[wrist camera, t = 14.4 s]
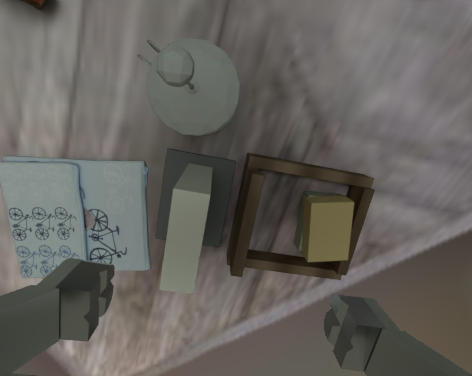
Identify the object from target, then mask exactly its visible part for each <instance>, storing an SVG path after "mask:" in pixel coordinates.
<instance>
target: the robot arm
mask: <svg viewBox="0 0 472 376" xmlns="http://www.w3.org/2000/svg"><path fill="white" fill-rule="evenodd" d="M114 269H115V267H114V265H113V264H108V263H101V262H95V261H89V260H82V259H74V258H68V259H66V260H64V261H63V262H62V263H61V264H60V265H59V266H58V267H57V268H55V269H54V270H53V271H52V272H51V273H50V274H49V275H48V276H46V277H45V278H44V279H43V280H42V281H41V282H40V283H39V284H38V285H36V286H35V285H30V286H27V287H24V288H22V289H19V290H16V291H13V292H10V293H8V294H5V295H2V296H0V376H35V375H23V374H14V373H12V372H14V371H15V370H17V369H18V368H20V367H21V366H23V365H24V364H26V363H27V362H28V361H30V360H31V359H33V358H34V357H36V356H37V355H39V354H40V353H42V352H43V351H45V350H46V349H48V348H49V347H50V346H52V345H53V344H55V343H56V342H58V341H59V339H64V340H77V341H89V339H90V337H91V336H92V334H93V332H94V331H95V329H96V328H97V326H98V322H99V317H101V316H103V315H104V314H105V313H106V311H107V309H108V307H109V305H110V302H111V299H112V295H113V287H114V286H113V285H112V283H111V282H110V281H111V279H112V278H113V276H114ZM329 304H330V306H331V308H332V309H330V310H329V311H328V312H327V313H326V315H325V319H324V331H325V335H326V337H327V339H328V341H329V342H330V343H331V344H333V345H334V349H333V352H334V355H335V357H336V359H337V361H338V363H339V365H340V368H341V369H348V370H355V371H363V372H365V374H366V375H367V376H472V374H470V373H469V372H467V371H465V370H464V369H463V368H461V367H459V366H458V365H456V364H455V363H453V362H452V361H450V360H449V359H447V358H445V357H444V356H442V355H441V354H439V353H438V352H436V351H435V350H433V349H432V348H430V347H428V346H427V345H425V344H424V343H422V342H421V341H419V340H417V339H416V338H414V337H413V336H411V335H410V334H408V333H407V332H405V331H401V330H400V329H399V328H398V327H397V326H396V324H395V323H394V322H393V321H392V320H391V318H390V317H389V316H388V315H387V314H386V312H385V311H384V310H383V309H382V307H381V306H380V305H379V304H378V303H377V301H375V300H374V299H372V298H366V297H354V296H345V295H337V294H334V295H333V296H332V297H331V299H330V302H329Z"/></svg>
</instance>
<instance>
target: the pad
mask: <svg viewBox="0 0 472 376" xmlns="http://www.w3.org/2000/svg"><path fill="white" fill-rule="evenodd" d="M189 163H190V164H195V165H201V166H207V167H212V168H213V171H212V183H211V195H210V201H209V207H208V212H207V218H206V224H205V229H204V235H203V241H202V245H207V246H214V247H219V246H220V241H221V236H222V230H223V225H224V220H225V215H226V210H227V205H228V200H229V194H230V189H231V184H232V179H233V174H234V169H235V164H236V161H233V160H228V159H222V158H217V157H211V156H206V155H200V154H195V153H189V152H184V151H178V150H173V149H167V152H166V160H165V168H164V176H163V184H162V192H161V200H160V208H159V215H158V223H157V231H156V238H157V239H165V240H166V238H167V231H168V223H169V216H170V209H171V202H172V194H173V188H174V187H175V185H176V183H177V182H178V180H179V179H180V177H181V175H182V174H183V172H184V170H185V169H186V167H187V166H188V164H189Z"/></svg>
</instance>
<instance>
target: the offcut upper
mask: <svg viewBox="0 0 472 376" xmlns="http://www.w3.org/2000/svg"><path fill="white" fill-rule="evenodd" d="M353 210H354V201H352V200H351V199H349V198H347V197H346V196H314V197H304V214H303V230H302V248H301V252H302V254H303V256H304V257H305V259H306V260H307V262H322V261H342V260H348V254H349V245H350V236H351V227H352V219H353Z"/></svg>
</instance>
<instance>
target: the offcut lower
mask: <svg viewBox="0 0 472 376" xmlns="http://www.w3.org/2000/svg"><path fill="white" fill-rule="evenodd" d="M314 196H342V195H341V194H333V193H323V192H312V191H304V192H303V198H302V203H301V208H300V214H299V219H298V224H297V230H296V235H295V240H294V244H295V245H296V247H297V249H298V250H299V251H301V248H302V230H303V214H304V197H314Z"/></svg>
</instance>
